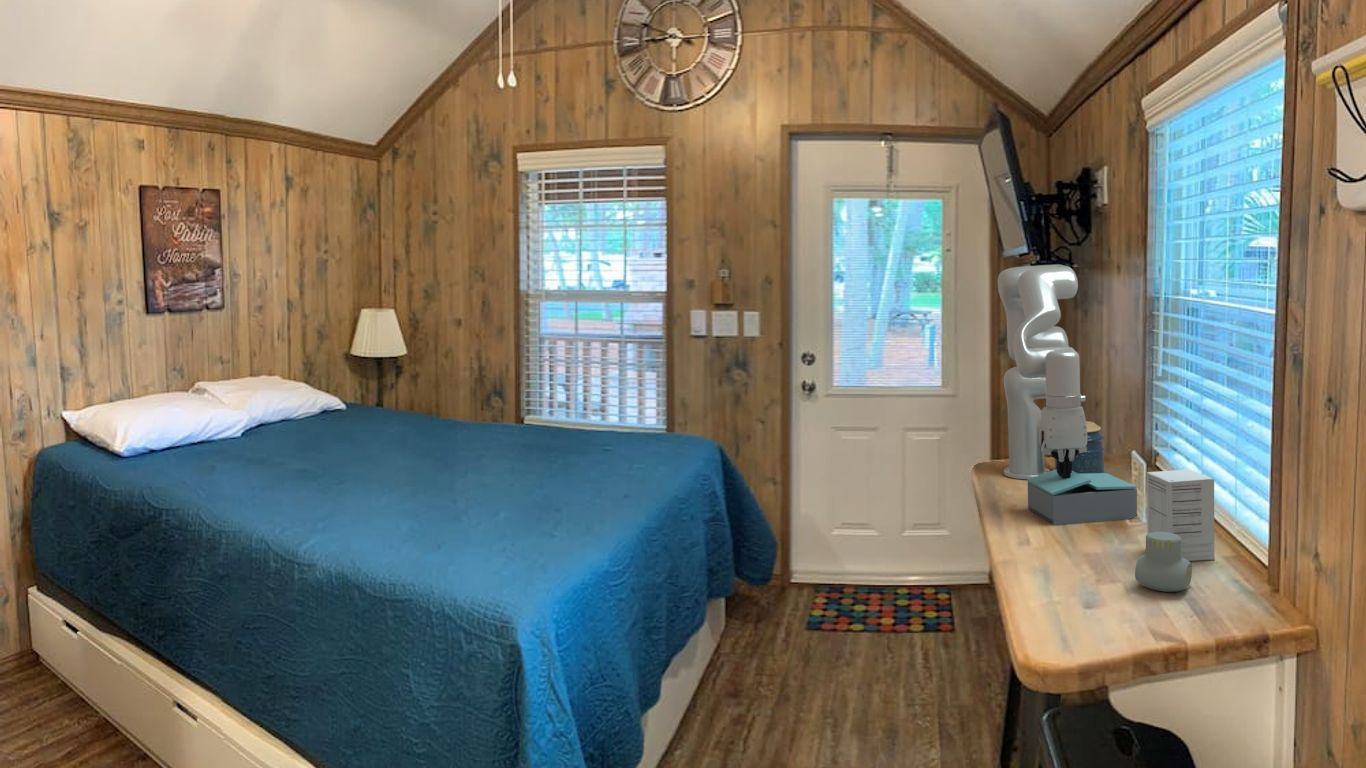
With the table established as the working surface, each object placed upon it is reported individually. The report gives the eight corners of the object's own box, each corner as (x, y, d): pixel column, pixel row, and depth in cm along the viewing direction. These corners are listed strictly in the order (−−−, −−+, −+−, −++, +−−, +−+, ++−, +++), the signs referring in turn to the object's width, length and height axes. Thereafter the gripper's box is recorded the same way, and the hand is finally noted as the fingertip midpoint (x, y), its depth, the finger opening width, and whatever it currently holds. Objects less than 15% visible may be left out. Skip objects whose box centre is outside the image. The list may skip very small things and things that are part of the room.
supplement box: (1216, 560, 176) (1216, 479, 174) (1169, 563, 177) (1169, 482, 174) (1189, 545, 186) (1189, 468, 184) (1145, 548, 186) (1145, 471, 184)
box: (1028, 509, 219) (1027, 482, 219) (1106, 502, 220) (1106, 475, 219) (1053, 525, 206) (1053, 496, 205) (1137, 518, 206) (1136, 489, 205)
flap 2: (1068, 476, 219) (1069, 473, 218) (1106, 475, 219) (1106, 473, 219) (1096, 489, 205) (1096, 487, 205) (1136, 488, 205) (1136, 486, 205)
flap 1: (1027, 481, 218) (1027, 479, 218) (1064, 469, 218) (1063, 466, 218) (1052, 495, 205) (1052, 493, 205) (1091, 481, 205) (1090, 479, 205)
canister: (1057, 482, 242) (1056, 420, 239) (1052, 471, 254) (1050, 411, 252) (1108, 482, 238) (1108, 419, 236) (1100, 471, 250) (1100, 410, 248)
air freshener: (1145, 574, 172) (1145, 525, 170) (1193, 581, 166) (1194, 530, 165) (1132, 592, 163) (1132, 541, 162) (1182, 600, 158) (1182, 547, 157)
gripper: (1086, 397, 213) (1087, 471, 215) (1025, 402, 213) (1027, 475, 215) (1101, 401, 206) (1102, 478, 208) (1038, 406, 205) (1040, 482, 208)
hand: (1064, 476), depth 211 cm, fingers closed
